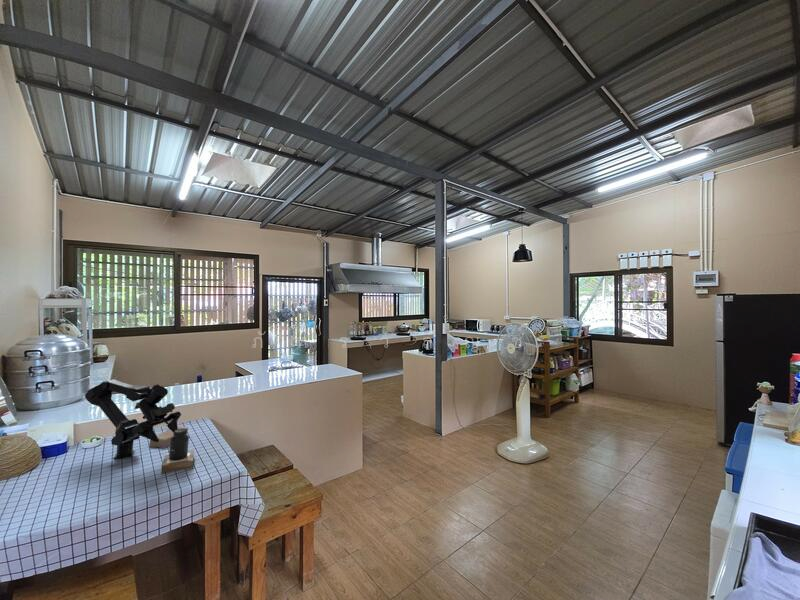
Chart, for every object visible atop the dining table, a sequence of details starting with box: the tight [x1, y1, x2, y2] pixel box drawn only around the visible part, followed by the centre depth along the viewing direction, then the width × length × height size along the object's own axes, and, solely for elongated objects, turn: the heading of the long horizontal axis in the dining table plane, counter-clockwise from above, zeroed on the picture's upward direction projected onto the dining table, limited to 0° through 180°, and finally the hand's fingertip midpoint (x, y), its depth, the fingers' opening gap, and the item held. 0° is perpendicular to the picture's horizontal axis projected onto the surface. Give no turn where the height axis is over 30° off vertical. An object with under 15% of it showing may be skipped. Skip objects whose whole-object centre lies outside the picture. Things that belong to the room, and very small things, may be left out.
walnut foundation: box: [160, 450, 195, 474], centre depth 139 cm, size 11×11×3 cm
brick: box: [148, 426, 189, 448], centre depth 164 cm, size 16×8×5 cm, turn 178°
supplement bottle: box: [168, 428, 190, 461], centre depth 139 cm, size 7×7×12 cm
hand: (167, 437), depth 141 cm, fingers open, 9 cm apart
